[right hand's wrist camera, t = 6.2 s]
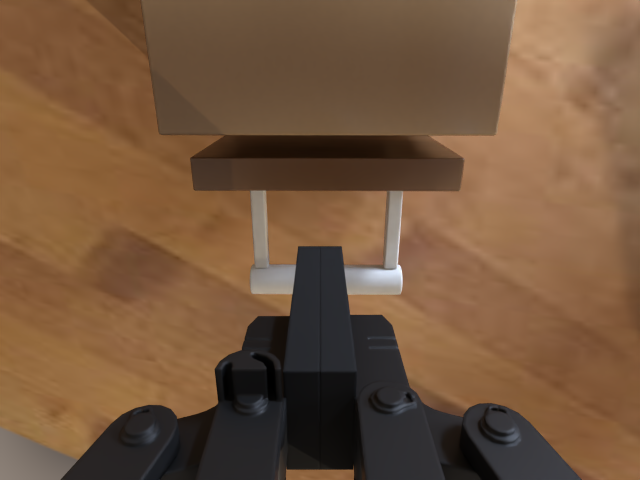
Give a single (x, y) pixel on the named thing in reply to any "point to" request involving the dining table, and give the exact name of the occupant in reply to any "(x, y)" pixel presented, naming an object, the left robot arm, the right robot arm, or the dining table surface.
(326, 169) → the drawer
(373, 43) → the cabinet
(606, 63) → the dining table surface
